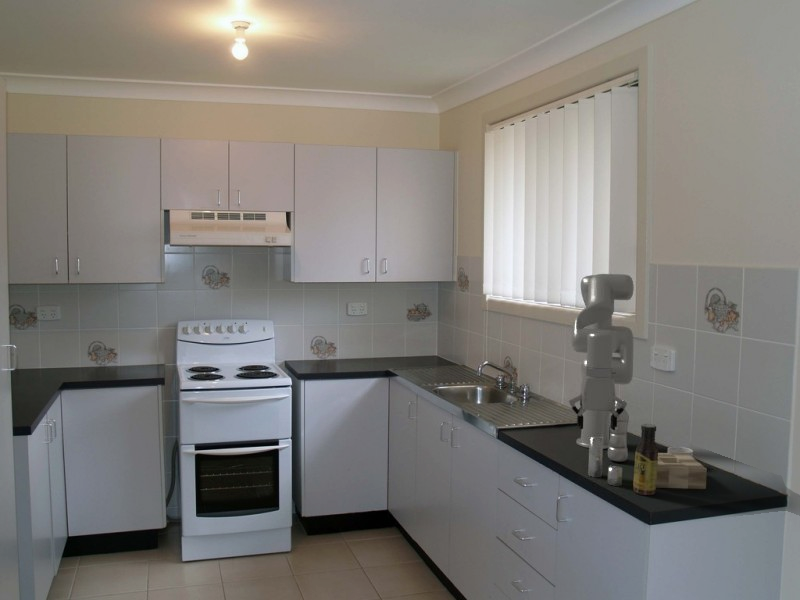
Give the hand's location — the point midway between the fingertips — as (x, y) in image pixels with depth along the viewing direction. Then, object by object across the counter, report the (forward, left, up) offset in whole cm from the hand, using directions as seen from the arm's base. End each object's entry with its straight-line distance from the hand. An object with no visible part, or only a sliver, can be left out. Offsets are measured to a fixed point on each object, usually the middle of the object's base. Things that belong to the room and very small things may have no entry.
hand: (596, 428), depth 234 cm
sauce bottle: (+15, +11, -15) cm, 24 cm away
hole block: (+1, +22, -15) cm, 27 cm away
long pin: (-1, 0, -15) cm, 15 cm away
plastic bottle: (-18, +11, -15) cm, 26 cm away
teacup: (-14, +29, -15) cm, 35 cm away
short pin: (+7, +4, -15) cm, 17 cm away
